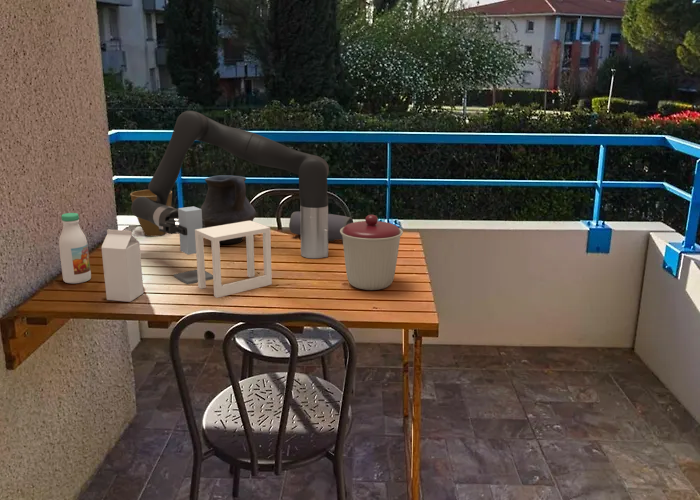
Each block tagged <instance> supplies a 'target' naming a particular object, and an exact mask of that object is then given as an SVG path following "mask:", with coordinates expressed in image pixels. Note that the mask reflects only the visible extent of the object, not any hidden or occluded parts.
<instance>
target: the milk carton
mask: <svg viewBox="0 0 700 500" xmlns="http://www.w3.org/2000/svg"><path fill="white" fill-rule="evenodd" d="M132 232H133V231H132V230H124V229H123V230H121V229H106V233H107V234H106V236H105V238H104V240H103V243H102V245H101V247H100V248H101V255H102V256H101V257H102V267H103V275H104V285H105V286H104V287H105V293H106V296H105V297H106V300H107V301H115V302H116V301H118V302H133V301H135V299H137V298H138V297H140V296H141V295H143V294H144V284H143V283H144V282H143V281H144V280H143V272H142V269H143V268H142V259H141V258H142V257H141V248H140V247H141V246H140V241H138V239H137V238H136V237H135V236H133V233H132Z"/></svg>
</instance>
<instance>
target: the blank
mask: <svg viewBox="0 0 700 500" xmlns="http://www.w3.org/2000/svg"><path fill="white" fill-rule="evenodd" d="M177 209H178V216H179V224H180V226H183V227H185V228H187V235H183V234H180V233H179V245H180V247H179V249H180V252H182V253H184V254H186V255H196V241H195V230H196V229H202V209H200V208H199V207H196V206H194V205H193V206H187V207H178V208H177Z"/></svg>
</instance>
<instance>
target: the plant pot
mask: <svg viewBox="0 0 700 500" xmlns="http://www.w3.org/2000/svg"><path fill="white" fill-rule="evenodd" d="M138 197H146V198H149V199H151V200H154V201H156V200H157V195H155V194H154V193H152V192H151V191H150V190H149V189H143V190H142V189H141V190H137V191H132V192H131V193H130V199H131V202H132V203H133V201H134V200H135V199H136V198H138ZM172 199H173V191H172V190H171V191H170V193H169V196H168V200H167V204H166V206H170V207H172V201H173V200H172ZM132 203H131V204H132ZM136 218H137V220H138V224H139V226H140V227H141V228H140V229H142V232H143V234H144V236H147V237H158V236H163V235H165V234H166V233H165V232H161V231H159V227H158V226H157V225H155V224H153V223H151V222H150V221H147V220H144V219H141V218H139V217H136Z"/></svg>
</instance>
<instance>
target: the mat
mask: <svg viewBox="0 0 700 500" xmlns="http://www.w3.org/2000/svg"><path fill="white" fill-rule="evenodd" d="M173 277H174V278H176V279H177V280H179V281H180V282H182V283H184V284H185V285H188V286H189V285H190V284H196V283H197V284H198V274H197V269H194V270H193V269H192V270H188V271H184V272H179V273H174V274H173ZM205 279H206V281H209V280H213V273H211V272H208V271H206V270H205Z"/></svg>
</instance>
